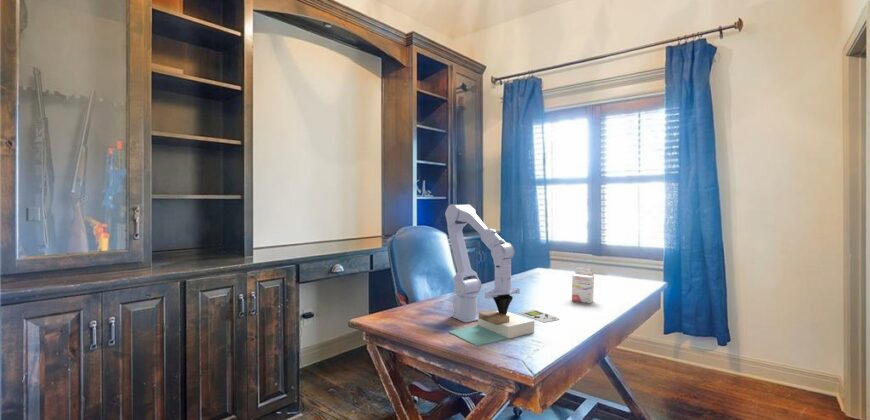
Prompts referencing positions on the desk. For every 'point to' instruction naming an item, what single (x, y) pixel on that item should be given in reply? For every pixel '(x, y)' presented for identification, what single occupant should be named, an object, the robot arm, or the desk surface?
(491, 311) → the block
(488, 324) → the cream white board
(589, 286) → the ink cartridge box
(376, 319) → the desk surface
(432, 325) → the desk surface
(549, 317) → the handheld gaming device
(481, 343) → the mat
